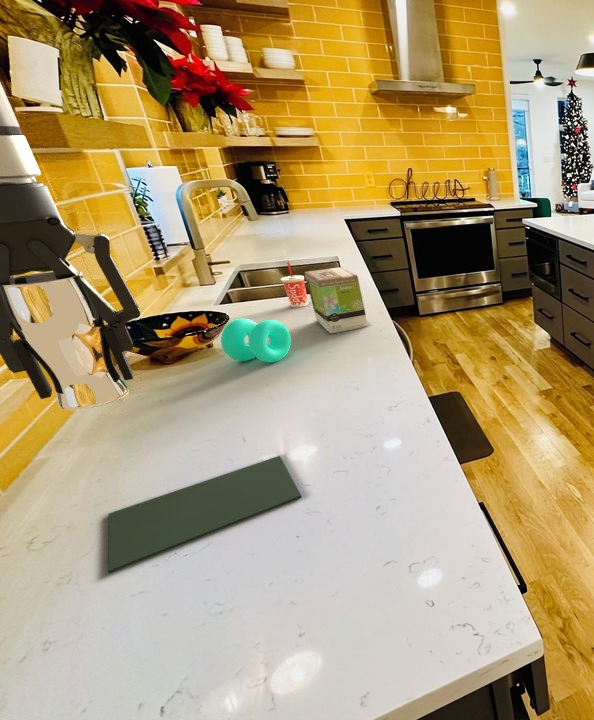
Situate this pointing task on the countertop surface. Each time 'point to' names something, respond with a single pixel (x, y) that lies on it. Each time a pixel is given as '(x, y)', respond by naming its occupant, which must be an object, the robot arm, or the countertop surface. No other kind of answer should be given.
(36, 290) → the beer glass
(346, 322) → the tea box
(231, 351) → the donuts
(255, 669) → the countertop surface
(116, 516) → the mat
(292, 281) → the beverage cup
